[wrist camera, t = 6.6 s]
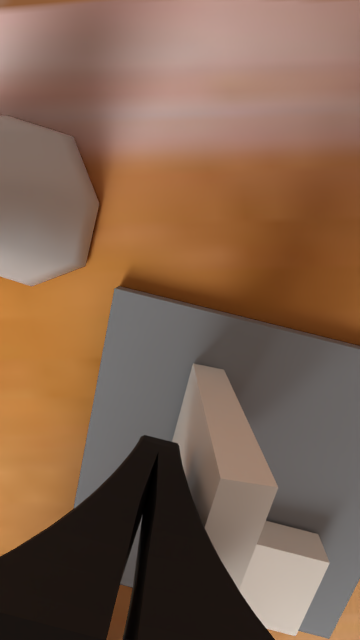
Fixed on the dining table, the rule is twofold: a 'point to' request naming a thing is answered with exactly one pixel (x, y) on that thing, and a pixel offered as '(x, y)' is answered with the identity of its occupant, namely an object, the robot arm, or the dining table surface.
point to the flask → (42, 203)
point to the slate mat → (259, 408)
